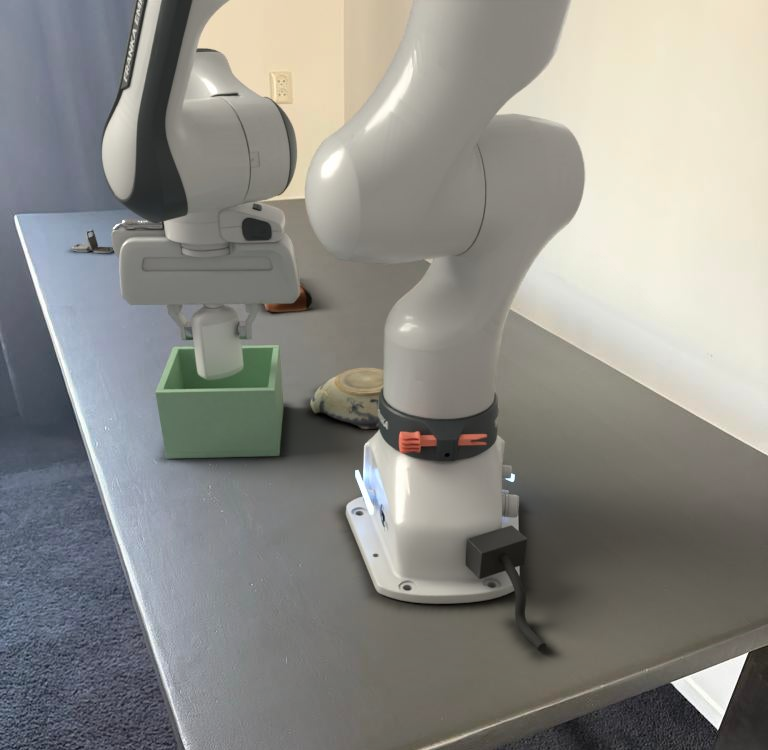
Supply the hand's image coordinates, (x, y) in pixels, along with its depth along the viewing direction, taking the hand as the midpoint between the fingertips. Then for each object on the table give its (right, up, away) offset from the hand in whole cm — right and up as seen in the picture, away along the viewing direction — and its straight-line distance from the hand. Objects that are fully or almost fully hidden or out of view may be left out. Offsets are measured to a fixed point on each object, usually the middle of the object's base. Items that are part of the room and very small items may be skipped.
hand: (217, 338), depth 95 cm
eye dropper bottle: (0, -4, +3) cm, 5 cm away
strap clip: (-41, +34, +73) cm, 90 cm away
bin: (0, -10, +7) cm, 13 cm away
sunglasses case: (0, +19, +50) cm, 54 cm away
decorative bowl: (+17, -6, +14) cm, 23 cm away
